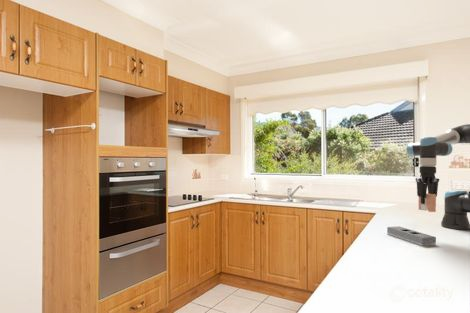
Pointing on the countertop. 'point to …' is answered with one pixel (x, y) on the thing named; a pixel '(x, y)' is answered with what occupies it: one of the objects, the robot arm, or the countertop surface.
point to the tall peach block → (429, 202)
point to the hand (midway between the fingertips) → (426, 210)
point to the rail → (411, 236)
